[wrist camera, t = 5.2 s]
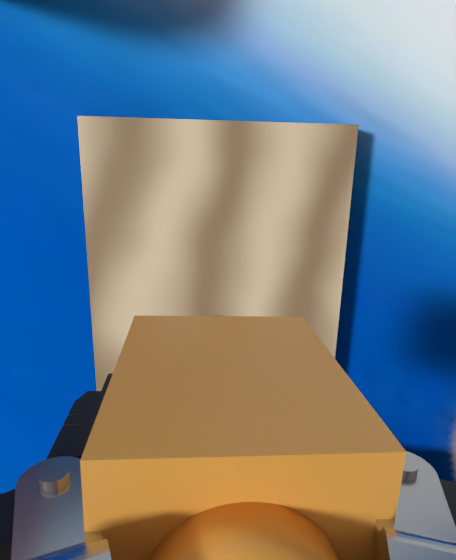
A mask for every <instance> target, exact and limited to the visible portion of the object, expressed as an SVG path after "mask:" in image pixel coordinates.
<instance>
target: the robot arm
mask: <svg viewBox="0 0 456 560" xmlns="http://www.w3.org/2000/svg"><path fill="white" fill-rule="evenodd" d="M112 374H113V373H109V374H108V375H107V378H106V380H105V383H104V385H103V388H102V390H101V391H88V392H86V393H85V394H84V395H83V396H81V397H80V398H79V399H78V400H76V401H75V402H74V404H73V406H72V408H71V410H70V413H69V416H68V417H67V419H66V421H65V423H64V426H63V427H62V429H61V431H60V433H59V435H58V437H57V439H56V441H55V443H54V445H53V447H52V449H51V451H50V453H49V455H48V457H47V459H46V460H44V461H41V462H39V463H37V464H35V465H33V466H32V467H30V468H29V469H28V470H26V471H25V472H24V473H23V474H22V475H21V477H20V478H19V480H18V482H17V484H16V488H15V489H14V490H11V491H9V492H6V493H3V494H0V560H112V559H111V554H110V549H109V545H108V541H107V539H103V534H102V531H90V532H84V518H83V501H82V484H81V468H80V459H81V457H82V454H83V451H84V449H85V446H86V443H87V441H88V438H89V435H90V433H91V430H92V428H93V425H94V422H95V420H96V417H97V414H98V412H99V409H100V406H101V404H102V401H103V398H104V396H105V393H106V390H107V388H108V385H109V382H110V380H111V377H112ZM406 452H407V453H406V458H405V464H404V470H403V476H402V482H401V487H400V493H399V499H398V505H397V511H396V516H395V519H376V524H375V530H374V537H373V553H374V560H456V482H451V481H446V480H442V479H439V477H438V475H437V473H436V471H435V470H434V468H433V467H432V466H431V465H430V464H429V463H428V462H427V461H425V460H424V459H422V458H421V457H419V456H417V455H415V454H413V453H410V452H408V451H406Z"/></svg>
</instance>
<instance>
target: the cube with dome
mask: <svg viewBox="0 0 456 560" xmlns="http://www.w3.org/2000/svg"><path fill="white" fill-rule="evenodd" d="M406 453H407V452H406V451H405V449H404V448H403V447H402V445H401V444H400V443H399V442H398V440H397V439H396V438H395V436H394V435H393V434H392V432H391V431H390V430H389V429H388V427H387V426H386V425H385V423H384V422H383V421H382V419H381V418H380V417H379V416H378V414H377V413H376V412H375V410H374V409H373V408H372V406H371V405H370V404H369V402H368V401H367V400H366V399H365V397H364V396H363V395H362V393H361V392H360V391H359V389H358V388H357V387H356V386H355V384H354V383H353V382H352V380H351V379H350V378H349V376H348V375H347V374H346V373H345V371H344V370H343V369H342V367H341V366H340V365H339V363H338V362H337V361H336V360H335V358H334V357H333V356H332V354H331V353H330V352H329V350H328V349H327V348H326V347H325V345H324V344H323V343H322V341H321V340H320V339H319V337H318V336H317V335H316V334H315V332H314V331H313V330H312V328H311V327H310V326H309V324H308V323H307V322H306V321H305V319H304V318H303V317H271V316H134V318H133V321H132V324H131V326H130V329H129V332H128V334H127V337H126V340H125V342H124V345H123V348H122V350H121V353H120V356H119V358H118V361H117V364H116V366H115V369H114V372H113V374H112V377H111V380H110V382H109V385H108V388H107V390H106V393H105V396H104V398H103V401H102V404H101V406H100V409H99V412H98V414H97V417H96V420H95V422H94V425H93V428H92V430H91V433H90V435H89V438H88V441H87V443H86V446H85V449H84V451H83V454H82V457H81V459H80V468H81V484H82V501H83V518H84V532H90V531H102V534H103V539H107V541H108V545H109V549H110V554H111V559H112V560H374V553H373V537H374V530H375V524H376V519H395V516H396V511H397V505H398V499H399V493H400V487H401V482H402V476H403V470H404V464H405V458H406Z"/></svg>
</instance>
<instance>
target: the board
mask: <svg viewBox="0 0 456 560" xmlns="http://www.w3.org/2000/svg"><path fill="white" fill-rule="evenodd" d="M77 119H78V133H79V148H80V162H81V176H82V190H83V204H84V218H85V232H86V247H87V261H88V275H89V289H90V303H91V317H92V331H93V346H94V360H95V374H96V388H97V391H101V390H102V388H103V385H104V383H105V380H106V378H107V375H108V374H109V373H113V372H114V369H115V366H116V364H117V361H118V358H119V356H120V353H121V350H122V348H123V345H124V342H125V340H126V337H127V334H128V332H129V329H130V326H131V324H132V321H133V318H134V316H271V317H303V318H304V319H305V321H306V322H307V323H308V324H309V326H310V327H311V328H312V330H313V331H314V332H315V334H316V335H317V336H318V337H319V339H320V340H321V341H322V343H323V344H324V345H325V347H326V348H327V349H328V350H329V352H330V353H331V354H332V356H333V357H334V358H335V353H336V343H337V334H338V324H339V314H340V304H341V294H342V284H343V274H344V264H345V254H346V245H347V235H348V225H349V215H350V205H351V195H352V185H353V175H354V165H355V156H356V146H357V136H358V126H359V125H350V124H319V123H287V122H255V121H224V120H192V119H160V118H129V117H97V116H77Z"/></svg>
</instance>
